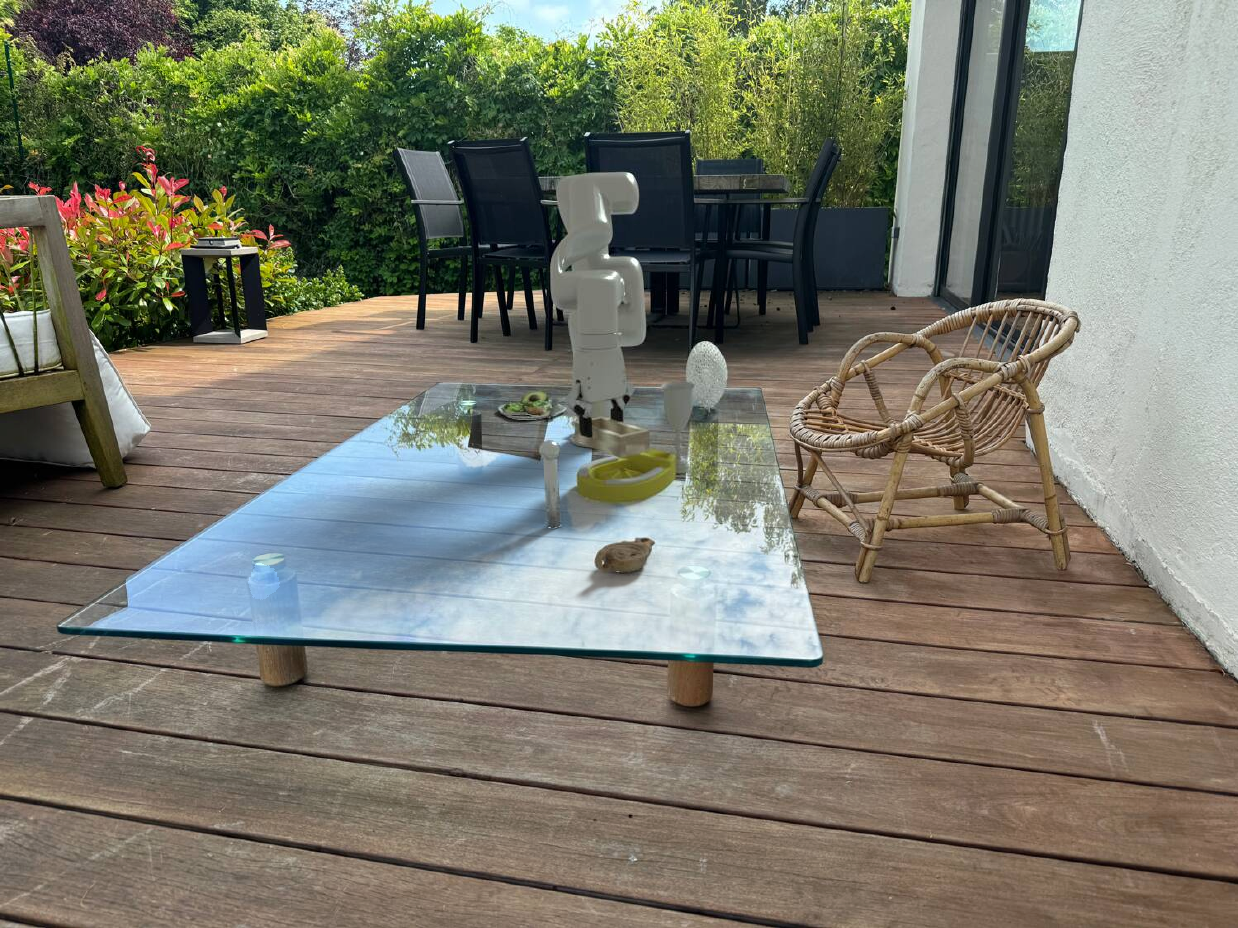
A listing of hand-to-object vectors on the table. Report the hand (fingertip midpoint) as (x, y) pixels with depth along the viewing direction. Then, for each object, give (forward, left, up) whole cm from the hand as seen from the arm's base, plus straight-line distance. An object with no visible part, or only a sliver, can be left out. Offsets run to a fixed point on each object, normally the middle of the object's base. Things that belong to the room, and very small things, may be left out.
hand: (601, 432), depth 166 cm
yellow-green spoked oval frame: (+2, +4, -12) cm, 13 cm away
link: (+3, 0, -2) cm, 4 cm away
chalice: (+2, +18, -12) cm, 22 cm away
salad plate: (-61, +21, -12) cm, 66 cm away
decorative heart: (-32, +57, -12) cm, 67 cm away
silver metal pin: (+11, -19, -11) cm, 24 cm away
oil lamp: (+33, -20, -12) cm, 40 cm away
